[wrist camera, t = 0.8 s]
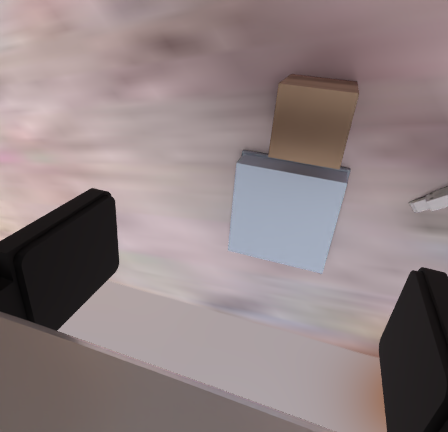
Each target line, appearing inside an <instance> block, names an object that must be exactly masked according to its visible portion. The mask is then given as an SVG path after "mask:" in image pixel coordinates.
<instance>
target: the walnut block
mask: <svg viewBox="0 0 448 432" xmlns="http://www.w3.org/2000/svg"><path fill="white" fill-rule="evenodd" d="M358 96H359V90H358V84H357V82H355V81H347V80H338V79H330V78H321V77H312V76H304V75H295V74H291V75H290V76H288V77H287V78H285V79H284V80H283V81H281V82H280V83H279V85H278V92H277V99H276V106H275V113H274V120H273V126H272V133H271V140H270V147H269V154H268V157H271V158H277V159H282V160H288V161H294V162H299V163H305V164H311V165H316V166H322V167H328V168H333V169H339V170H340V166H341V162H342V158H343V154H344V150H345V146H346V142H347V139H348V135H349V131H350V127H351V123H352V119H353V115H354V111H355V108H356V104H357V100H358Z"/></svg>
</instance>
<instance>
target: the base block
mask: <svg viewBox="0 0 448 432" xmlns="http://www.w3.org/2000/svg"><path fill="white" fill-rule="evenodd" d="M349 174H350V168H345V167H340V170H339V169H333V168H328V167H322V166H316V165H311V164H305V163H299V162H294V161H288V160H282V159H277V158H271V157H268V154H264V153H259V152H253V151H247V150H243V151H242V157H241V158H240V159H239V161H238V162H237V164H236V174H235V184H234V194H233V204H232V215H231V225H230V235H229V245H228V251H232V252H236V253H240V254H244V255H248V256H252V257H256V258H260V259H264V260H268V261H272V262H276V263H281V264H285V265H289V266H293V267H297V268H301V269H305V270H309V271H313V272H317V273H321V274H322V273H323V269H324V266H325V262H326V259H327V255H328V251H329V248H330V244H331V241H332V237H333V233H334V230H335V226H336V222H337V219H338V215H339V212H340V208H341V204H342V201H343V197H344V194H345V190H346V186H347V181H348V177H349Z"/></svg>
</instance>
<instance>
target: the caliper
mask: <svg viewBox="0 0 448 432" xmlns="http://www.w3.org/2000/svg"><path fill="white" fill-rule="evenodd" d="M409 204H410V206H411V207H412V209H413V211H414V212H421V211H425V210H428V209H431V211H435V210H438V209H442V208H445V207H448V186H447V187H444V188H442V189H440V190H437V191H435V192H432V193H430V194H428V195H426V197H423V198H420V199H417V200H414V201H411V202H409Z"/></svg>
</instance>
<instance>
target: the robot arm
mask: <svg viewBox="0 0 448 432" xmlns="http://www.w3.org/2000/svg"><path fill="white" fill-rule="evenodd" d="M118 266H119V252H118V238H117V223H116V208H115V200H114V198H113V197H111V194H110V193H109V192H107V191H103V190H98V189H94V188H92V189H89V190H88V191H86V192H84V193H82V194H81V195H79V196H77V197H75V198H74V199H72V200H70V201H69V202H67V203H65V204H63V205H62V206H60V207H58V208H57V209H55V210H53V211H51V212H50V213H48V214H46V215H44V216H43V217H41V218H39V219H38V220H36V221H34V222H32V223H31V224H29V225H27V226H26V227H24V228H22V229H20V230H19V231H17V232H15V233H13V234H12V235H10V236H8V237H7V238H5V239H3V240H1V241H0V432H335V431H332V430H330V429H327V428H325V427H322V426H320V425H317V424H314V423H312V422H309V421H306V420H303V419H301V418H298V417H295V416H293V415H290V414H287V413H284V412H282V411H279V410H276V409H273V408H270V407H268V406H265V405H262V404H259V403H257V402H254V401H251V400H249V399H246V398H243V397H240V396H237V395H235V394H232V393H229V392H227V391H224V390H221V389H218V388H216V387H213V386H210V385H207V384H205V383H202V382H199V381H196V380H193V379H190V378H188V377H185V376H182V375H179V374H177V373H174V372H171V371H168V370H166V369H163V368H160V367H157V366H154V365H152V364H149V363H146V362H143V361H140V360H138V359H134V358H132V357H129V356H126V355H124V354H121V353H118V352H115V351H112V350H110V349H107V348H104V347H101V346H98V345H95V344H92V343H90V342H87V341H84V340H81V339H78V338H75V337H73V336H70V335H67V334H64V333H61V332H58V331H57V330H58V329H59V328H60V327H61V326H62V325H63V324H64V323H65V322H66V321H67V320H68V319H69V318H70V317H71V316H72V315H73V314H74V313H75V312H76V311H77V310H78V309H79V308H80V307H81V306H82V305H83V304H84V303H85V302H86V301H87V300H88V299H89V298H90V297H91V296H92V295H93V294H94V293H95V292H96V291H97V290H98V289H99V288H100V287H101V286H102V285H103V284H104V283H105V282H106V281H107V280H108V279H109V278H110V277H111V276H112V275H113V274H114V273H115V272H116V270H117V269H118ZM379 357H380V366H381V376H382V386H383V395H384V404H385V414H386V423H387V432H448V276H447V274H446V273H444V272H440V271H436V270H432V269H428V268H424V267H422V268H420V269H419V270H418V271H414V270H413V271H411V272H410V274H409V276H408V279H407V281H406V283H405V285H404V288H403V290H402V292H401V294H400V296H399V299H398V301H397V303H396V305H395V308H394V310H393V312H392V314H391V317H390V319H389V321H388V323H387V325H386V328H385V330H384V332H383V334H382V337H381V339H380V343H379Z"/></svg>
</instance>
